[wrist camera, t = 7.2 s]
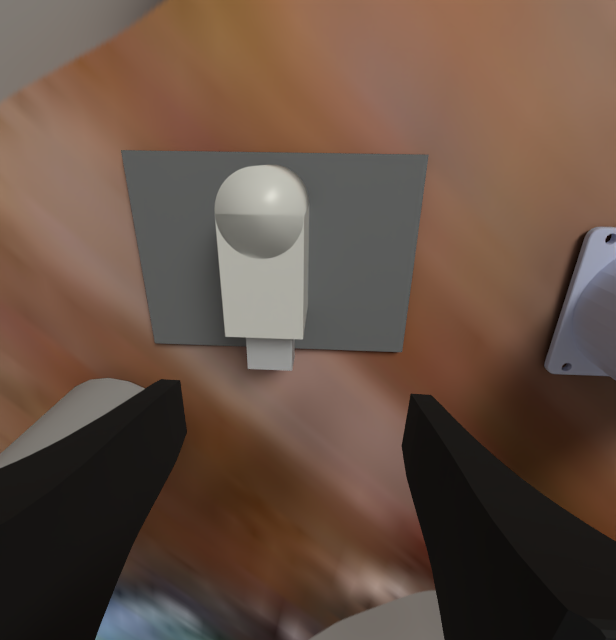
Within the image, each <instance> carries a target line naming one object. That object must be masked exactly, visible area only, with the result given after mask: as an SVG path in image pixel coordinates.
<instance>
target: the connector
mask: <svg viewBox="0 0 616 640" xmlns="http://www.w3.org/2000/svg"><path fill="white" fill-rule="evenodd" d="M215 224H216V235H217V247H218V258H219V270H220V281H221V293H222V304H223V315H224V327H225V337H246V346H247V362H248V369H263V370H289V371H292V369H293V363H294V357H295V339H303V336H304V329H305V322H306V315H307V308H308V259H309V196H308V192H307V189H306V187H305V184H304V183H303V181H302V180H301V178H300V177H299V176H298V175H297V174H296V173H295V172H293V171H292V170H290V169H288V168H286V167H284V166H281V165H274V164H271V165H259V166H249V167H245V168H242V169H239V170H237V171H236V172H234V173H233V174H231V175H230V176H229V177H228V178H227V179H226V180H225V181H224V182H223V184H222V185H221V187H220V189H219V191H218V193H217V196H216V200H215Z"/></svg>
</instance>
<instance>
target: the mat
mask: <svg viewBox="0 0 616 640" xmlns="http://www.w3.org/2000/svg"><path fill="white" fill-rule="evenodd" d="M121 153H122V158H123V164H124V170H125V175H126V181H127V187H128V192H129V198H130V204H131V209H132V215H133V221H134V227H135V232H136V238H137V244H138V249H139V255H140V261H141V266H142V272H143V278H144V283H145V289H146V295H147V301H148V306H149V312H150V318H151V323H152V329H153V335H154V340H155V343H165V344H192V345H220V346H246V337H225V327H224V315H223V304H222V293H221V281H220V270H219V258H218V247H217V235H216V224H215V200H216V196H217V193H218V191H219V189H220V187H221V185H222V184H223V182H224V181H225V180H226V179H227V178H228V177H229V176H230V175H231V174H233V173H234V172H236V171H237V170H239V169H242V168H245V167H249V166H259V165H271V164H274V165H281V166H284V167H286V168H288V169H290V170H292V171H293V172H295V173H296V174H297V175H298V176H299V177H300V178H301V180H302V181H303V183H304V184H305V187H306V189H307V192H308V196H309V259H308V308H307V315H306V322H305V329H304V336H303V339H295V348H301V349H329V350H356V351H383V352H402V348H403V341H404V333H405V326H406V318H407V311H408V304H409V296H410V289H411V281H412V274H413V266H414V259H415V251H416V244H417V237H418V229H419V222H420V214H421V207H422V199H423V192H424V184H425V177H426V170H427V162H428V155H410V154H341V153H271V152H202V151H132V150H121Z"/></svg>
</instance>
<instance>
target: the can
mask: <svg viewBox="0 0 616 640" xmlns="http://www.w3.org/2000/svg"><path fill="white" fill-rule="evenodd" d="M144 389H145V388H143V387H140V386H138V385H136V384H133V383H131V382H129V381H123V380H118V379H112V378H103V379H93V380H89V381H87V382H84V383H82V384H80V385H78V386H75V387H74V388H73V389H72V390H71V391H70V392H69V393H68V394H67V395H65V396H64V397H63V398H62V399H61V400H60V401H59V402H58V403H57V404H55V405H54V406H53V407H52V408H51V409H50V410H49V411H48V412H47V413H45V414H44V415H43V416H42V417H41V418H40V419H39V420H38V421H36V422H35V423H34V424H33V425H32V426H31V427H30V428H29V429H28V430H26V431H25V432H24V433H23V434H22V435H21V436H20V437H19V438H18V439H16V440H15V441H14V442H13V443H12V444H11V445H10V446H9V447H8V448H6V449H5V450H4V451H3V452H2V453H1V454H0V468H2V467H4V466H6V465H9V464H11V463H13V462H16V461H18V460H20V459H22V458H25V457H27V456H29V455H31V454H33V453H35V452H37V451H39V450H41V449H43V448H45V447H47V446H49V445H51V444H53V443H55V442H57V441H59V440H61V439H63V438H65V437H66V436H68V435H70V434H72V433H74V432H75V431H77V430H79V429H80V428H82V427H84V426H86V425H87V424H89V423H91V422H92V421H94V420H96V419H98V418H99V417H101V416H103V415H104V414H106V413H108V412H109V411H111V410H112V409H114V408H116V407H117V406H119V405H120V404H122V403H123V402H125V401H127V400H128V399H130V398H131V397H133V396H134V395H136V394H138V393H139V392H141V391H142V390H144Z"/></svg>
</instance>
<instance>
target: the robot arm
mask: <svg viewBox="0 0 616 640" xmlns="http://www.w3.org/2000/svg"><path fill="white" fill-rule="evenodd" d="M609 234H611V239H610V240H609V241H608V242H605V239H606V237H607V236H608V235H609ZM565 363H567V365H566V366H565V367H562V366H563V365H564V364H565ZM544 367H545V369H546V370H547V371H548V372H550V373H552V374H566V375H592V376H610V377H611V378H613V379H614V380H615V381H616V227H595V228H593V229H591V230H589V231H588V232H587V234H586V236H585V238H584V241H583V244H582V247H581V250H580V254H579V257H578V260H577V263H576V266H575V269H574V272H573V275H572V279H571V282H570V285H569V288H568V291H567V294H566V297H565V301H564V304H563V307H562V310H561V313H560V316H559V319H558V323H557V326H556V329H555V332H554V335H553V338H552V341H551V344H550V348H549V351H548V354H547V357H546V360H545V364H544ZM186 433H187V429H186V422H185V414H184V407H183V399H182V392H181V384H180V380H164V379H161V380H159V381H157V382H155V383H154V384H152V385H150V386H149V387H147V388H145V389H144V390H142V391H141V392H139V393H138V394H136V395H134V396H133V397H131V398H130V399H128V400H127V401H125V402H123V403H122V404H120V405H119V406H117V407H116V408H114V409H112V410H111V411H109V412H108V413H106V414H104V415H103V416H101V417H99V418H98V419H96V420H94V421H92V422H91V423H89V424H87V425H86V426H84V427H82V428H80V429H79V430H77V431H75V432H74V433H72V434H70V435H68V436H66V437H65V438H63V439H61V440H59V441H57V442H55V443H53V444H51V445H49V446H47V447H45V448H43V449H41V450H39V451H37V452H35V453H33V454H31V455H29V456H27V457H25V458H22V459H20V460H18V461H16V462H13V463H11V464H9V465H6V466H4V467H2V468H0V640H95V638H96V635H97V632H98V630H99V627H100V624H101V622H102V619H103V617H104V614H105V611H106V609H107V606H108V604H109V601H110V599H111V596H112V594H113V591H114V588H115V586H116V583H117V581H118V578H119V576H120V574H121V571H122V569H123V567H124V564H125V562H126V559H127V557H128V555H129V552H130V550H131V547H132V545H133V543H134V541H135V539H136V537H137V535H138V533H139V531H140V529H141V527H142V525H143V523H144V521H145V519H146V517H147V515H148V514H149V512H150V510H151V508H152V506H153V504H154V502H155V500H156V499H157V497H158V495H159V493H160V491H161V489H162V487H163V485H164V484H165V482H166V480H167V478H168V476H169V474H170V472H171V470H172V468H173V466H174V464H175V462H176V460H177V457H178V455H179V452H180V450H181V447H182V444H183V441H184V439H185V436H186ZM402 451H403V458H404V464H405V470H406V476H407V480H408V484H409V488H410V491H411V495H412V498H413V502H414V506H415V509H416V512H417V516H418V519H419V523H420V526H421V530H422V533H423V537H424V540H425V544H426V547H427V551H428V555H429V559H430V563H431V567H432V572H433V578H434V583H435V588H436V594H437V599H438V604H439V610H440V615H441V621H442V627H443V633H444V639H445V640H616V541H614V540H612V539H611V538H609V537H607V536H606V535H604V534H602V533H601V532H599V531H597V530H596V529H594V528H592V527H591V526H589V525H588V524H586V523H585V522H583V521H581V520H580V519H578V518H577V517H575V516H574V515H572V514H571V513H569V512H568V511H566V510H565V509H563V508H562V507H560V506H559V505H557V504H556V503H554V502H553V501H551V500H550V499H549V498H547V497H546V496H544V495H543V494H542V493H540V492H539V491H538V490H536V489H535V488H534V487H532V486H531V485H530V484H528V483H527V482H526V481H524V480H523V479H522V478H520V477H519V476H518V475H516V474H515V473H514V472H513V471H511V470H510V469H509V468H508V467H507V466H505V465H504V464H503V463H502V462H501V461H500V460H498V459H497V458H496V457H495V456H494V455H493V454H491V453H490V452H489V451H488V450H487V449H486V448H485V447H484V446H482V445H481V444H480V443H479V442H478V441H477V440H476V439H475V438H474V437H473V436H472V435H471V434H470V433H469V432H468V431H467V430H465V429H464V428H463V427H462V426H461V425H460V424H459V423H458V422H457V421H456V420H455V419H454V418H453V417H452V416H451V415H450V414H449V413H448V412H447V410H446V409H445V408H444V407H443V406H442V405H441V404H440V403H439V402H438V401H437V400H436V399H435V398H434V397H433V396H432V395H422V394H411V396H410V401H409V407H408V413H407V419H406V424H405V430H404V436H403V442H402Z"/></svg>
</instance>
